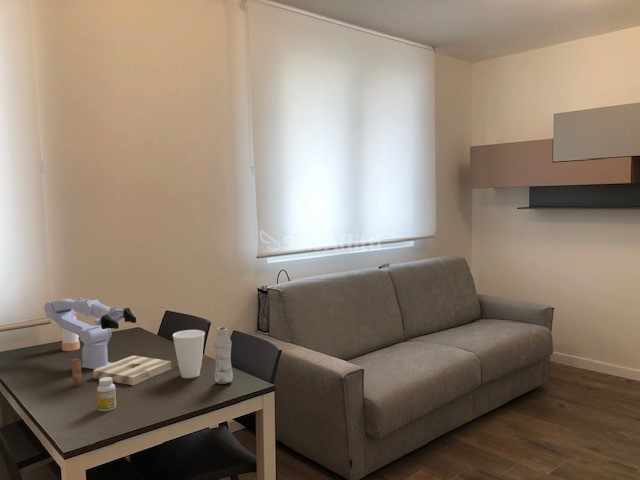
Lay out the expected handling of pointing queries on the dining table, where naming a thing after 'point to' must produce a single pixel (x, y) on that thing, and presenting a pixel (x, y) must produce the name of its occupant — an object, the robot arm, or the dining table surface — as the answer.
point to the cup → (189, 351)
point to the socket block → (133, 369)
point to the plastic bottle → (223, 357)
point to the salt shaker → (70, 339)
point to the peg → (76, 372)
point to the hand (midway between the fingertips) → (126, 323)
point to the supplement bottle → (106, 394)
